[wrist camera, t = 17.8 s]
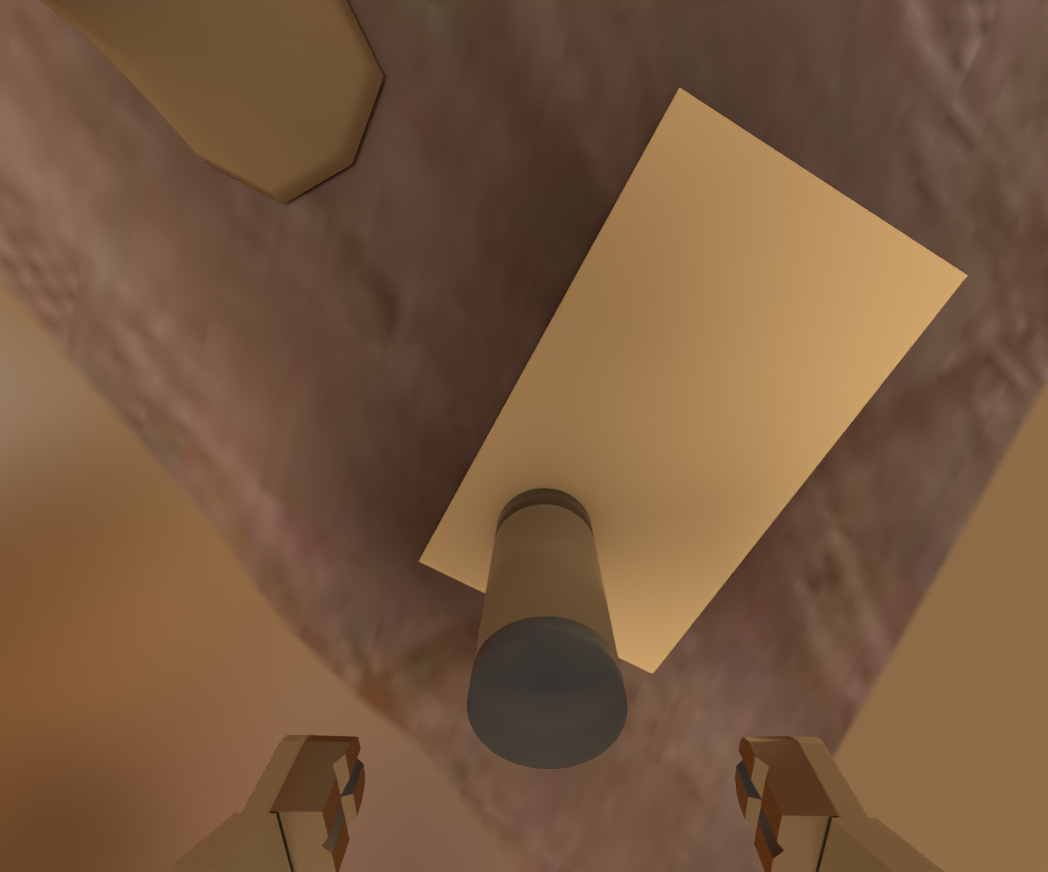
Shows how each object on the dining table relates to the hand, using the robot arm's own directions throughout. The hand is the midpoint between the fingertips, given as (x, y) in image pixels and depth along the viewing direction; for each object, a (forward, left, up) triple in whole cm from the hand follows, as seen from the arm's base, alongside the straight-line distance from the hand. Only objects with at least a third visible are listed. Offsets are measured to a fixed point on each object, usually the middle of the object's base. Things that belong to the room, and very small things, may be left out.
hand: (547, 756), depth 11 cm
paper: (-6, +2, -11) cm, 13 cm away
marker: (0, 0, -11) cm, 11 cm away
